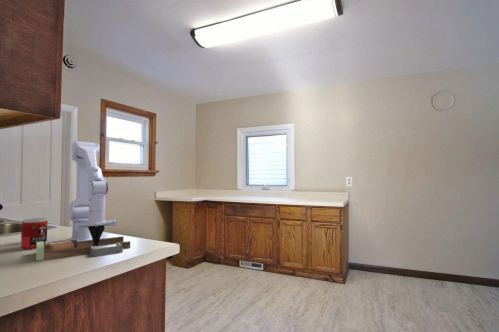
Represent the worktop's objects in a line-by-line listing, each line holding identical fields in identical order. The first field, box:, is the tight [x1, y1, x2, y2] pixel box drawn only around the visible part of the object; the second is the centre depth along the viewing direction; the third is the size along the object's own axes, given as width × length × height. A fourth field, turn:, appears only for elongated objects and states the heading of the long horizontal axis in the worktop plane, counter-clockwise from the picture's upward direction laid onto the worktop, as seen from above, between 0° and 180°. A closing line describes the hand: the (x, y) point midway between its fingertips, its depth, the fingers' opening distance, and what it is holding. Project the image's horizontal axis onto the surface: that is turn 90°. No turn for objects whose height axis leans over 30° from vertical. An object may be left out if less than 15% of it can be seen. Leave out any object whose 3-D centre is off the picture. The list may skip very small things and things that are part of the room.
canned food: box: [20, 217, 47, 251], centre depth 110 cm, size 8×8×11 cm
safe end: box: [35, 241, 45, 262], centre depth 98 cm, size 12×2×4 cm, turn 38°
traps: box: [48, 239, 124, 257], centre depth 107 cm, size 22×22×2 cm
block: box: [51, 241, 74, 251], centre depth 101 cm, size 6×6×4 cm
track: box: [43, 236, 131, 261], centre depth 107 cm, size 12×28×2 cm, turn 128°
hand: (95, 245), depth 109 cm, fingers closed
